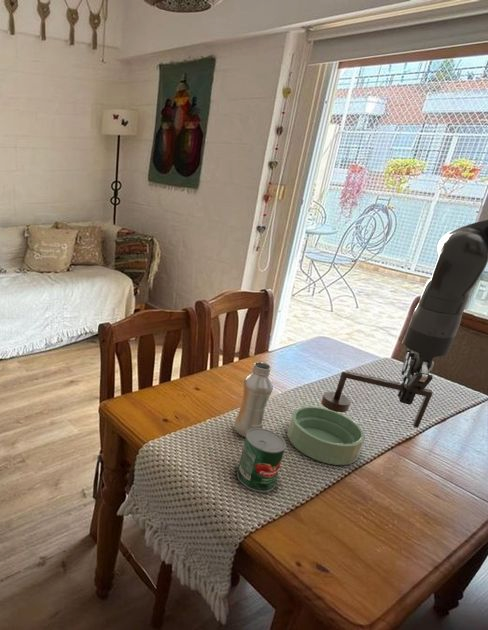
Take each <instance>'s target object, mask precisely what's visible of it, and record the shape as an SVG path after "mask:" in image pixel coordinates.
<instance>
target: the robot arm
mask: <svg viewBox="0 0 488 630" xmlns="http://www.w3.org/2000/svg"><path fill="white" fill-rule="evenodd" d="M437 252H438V257H437V261H436V263H435V267H434V269H433V272H432V276H431V278H429V279H428V281H427V282H426V284H425V286H424V287H423V290H422V293H421V296H420V299H419V302H418V304H417V306H416V308H415V309H414V311H413V313H412V316H411V318H410V321H409V324H408V327H407V329H406V332H405V335H404V338H403V340H402V344H403V345H404V347H405V348H407V349H405V353H404V354H405V355H404V359H403V360H404V361H403V365H402V369H401V372H400V373H401V376H402V377H401V381H402V382H401V383H403V384H404V388H403V390H402V391H400V390H398V392H397V398H398V400H399V402H400V403H401V404H405V405H409V406H410V405H412V404H413V402H414V400H415V397H416V395H417V394H416V392H417V391H418V392H422V391H423V390H424V388H425V389H426V388H427V386H428V385H429V384H430V383H431V381H432V380H433V379H434V377H433V374H430V372H431V371H432V370H433V368H434V365H435V362H434V358H441V357H445V356H447V355H448V354H449V352H450V350H451V348H452V345H453V342H454V340H455V337H456V335H457V332H458V331H459V327H460V325H461V321H462V317H463V313H464V311H465V309H466V307H467V304H468V302H469V299H470V296H471V293H472V290H473V288H475V286H476V284H477V282H478V280H479V279H480V277H481V276H482V274H483V272H484V270H485V269H486V267H487V265H488V218H487V219H484V220H480V221H476V222H473V223H469V224H466V225H463V226H460V227H458V228H455V229H453V230H451V231H448V232H447V233H446V234H444V235H443V236H442V237H441V239H440V240H439V242H438V244H437Z"/></svg>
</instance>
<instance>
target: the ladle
mask: <svg viewBox="0 0 488 630" xmlns="http://www.w3.org/2000/svg"><path fill="white" fill-rule="evenodd" d="M347 379H349V380H353V381H358V382H361V383H366V384H370V385H374V386H379V387H383V388H387V389H392V390H396V391H399V390H400V391H402V390H403V388H404V384H403V383H402V382H398V381H393V380H389V379H385V378H380V377H376V376H372V375H367V374H363V373H358V372H353V371H349V370H344V371H342V372H341V374H340V377H339V380H338V383H337V386H336V389H335V391H325V392H324V393H323V394H322V397H321V401H320V403H321V405H322V406H323V408H326V409H330V410H332V411H335V412H338V413H346V412H348V411H349V409H350V406H351V403H352V402H351V400H350V398H349V397H348V396H346V395H345V394H343V390H344V387H345V384H346V381H347ZM433 394H434V393H433V390H432V389H430V388H426V387H425V388H424V390H423V391H422V392H418V391H417V392H416V395H417V396H421V397H423V398H422V400H421V403H420V405H419V408H418V409H417V410H418V411H417V413H416V415H415V418H414V420H413V422H412V425H413V428H417V429H418V428H419V427H420V425H421V422H422V420H423V417H424V415H425V412H426V410H427V409H428V408H427V407H428V405H429V403H430V400H431V398H432V396H433Z"/></svg>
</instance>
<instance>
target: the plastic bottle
mask: <svg viewBox="0 0 488 630" xmlns="http://www.w3.org/2000/svg"><path fill="white" fill-rule="evenodd" d="M271 367H272V366H271V365H270V364H268V363H266V362H262V361H256V362H254V364H253V368H252V372H251V373H249V375H247V376H246V377H245V378H244V381H243V391H242V392H243V393H242V400H241V404H240V408H239V410H238V413H237V415H236V416H235V417H236V418H235V419H234V429H235V431H236V432H237V434H238V435H240V436H241V437H243V438H246V433H247V431H249V430H250V429H254V428H262V429H264V415H265V410H266V407H267V404H268V401H269V399H270V397H271V395H272V392H273V391H274V384H273V382H272V379H271V378H270V375H271V370H272V369H271Z"/></svg>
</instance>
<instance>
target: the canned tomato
mask: <svg viewBox="0 0 488 630" xmlns="http://www.w3.org/2000/svg"><path fill="white" fill-rule="evenodd" d="M286 446H287V445H286V441H285V440H284V439H283V437H282V436H281V435H279V434H278V433H277V432H274V431H273V430H270V429H267V428H263V429H262V428H254V429H250V430H249V431H247V433H246V437H244V442H243V446H242V452H241V455H240V460H239V466H238V470H237V472H236V476H237V479H238V480H239V482H240V483H241V485H243V486H245V487H246V488H247V489H250V490H252V491H254V492H258V493H269V492H271V491H273V490H274V489H275V487H276V483H277V479H278V476H279V472H280V467H281V464H282V460H283V457H284V453H285V449H286Z"/></svg>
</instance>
